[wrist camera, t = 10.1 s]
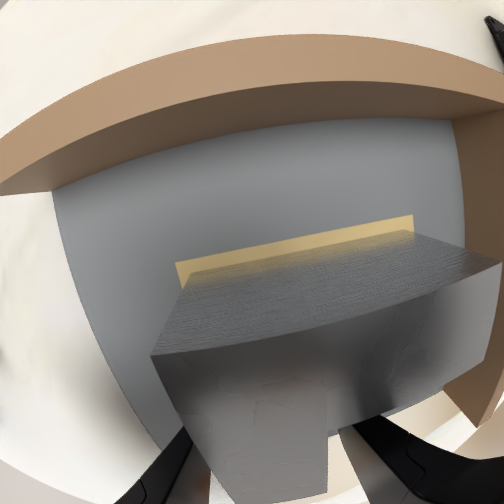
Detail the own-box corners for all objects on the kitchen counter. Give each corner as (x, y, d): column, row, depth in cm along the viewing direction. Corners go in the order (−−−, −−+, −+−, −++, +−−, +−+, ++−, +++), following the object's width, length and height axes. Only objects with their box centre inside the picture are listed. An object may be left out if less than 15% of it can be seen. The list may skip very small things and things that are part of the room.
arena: (449, 100, 9) (519, 81, 4) (450, 375, 13) (490, 417, 8) (58, 163, 9) (-24, 159, 4) (168, 447, 12) (156, 511, 8)
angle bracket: (398, 372, 11) (450, 439, 6) (235, 415, 11) (238, 507, 6) (403, 229, 9) (502, 262, 4) (191, 272, 9) (149, 355, 4)
